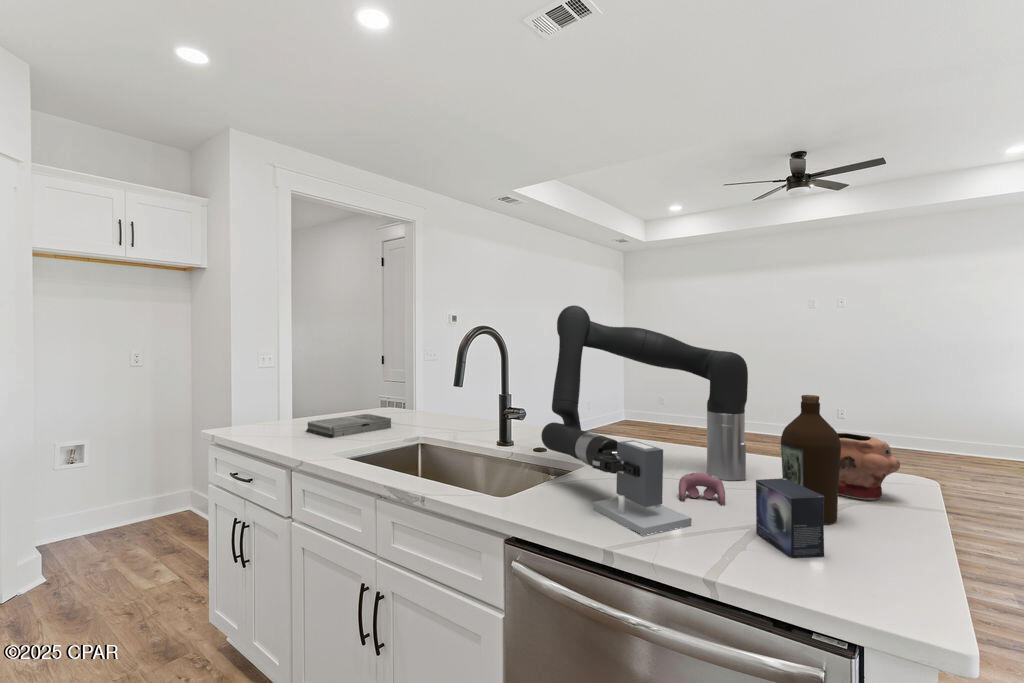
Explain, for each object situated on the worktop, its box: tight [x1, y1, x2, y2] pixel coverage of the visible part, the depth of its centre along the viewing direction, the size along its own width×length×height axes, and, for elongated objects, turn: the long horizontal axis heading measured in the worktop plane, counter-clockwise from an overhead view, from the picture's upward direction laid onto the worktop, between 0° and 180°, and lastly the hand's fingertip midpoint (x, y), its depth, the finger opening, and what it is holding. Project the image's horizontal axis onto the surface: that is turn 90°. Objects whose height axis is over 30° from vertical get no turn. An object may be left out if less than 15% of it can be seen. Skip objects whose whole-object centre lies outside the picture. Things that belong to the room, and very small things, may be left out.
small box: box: [755, 477, 825, 559], centre depth 87 cm, size 11×6×10 cm, turn 5°
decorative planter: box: [837, 432, 901, 501], centre depth 116 cm, size 20×12×14 cm, turn 48°
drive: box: [616, 440, 664, 507], centre depth 100 cm, size 9×4×11 cm, turn 25°
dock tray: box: [593, 494, 692, 536], centre depth 100 cm, size 16×12×5 cm
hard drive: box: [306, 413, 392, 439], centre depth 195 cm, size 18×27×4 cm
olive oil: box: [780, 394, 841, 525], centre depth 101 cm, size 11×11×25 cm
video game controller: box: [678, 472, 726, 505], centre depth 111 cm, size 10×5×7 cm, turn 72°
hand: (648, 470), depth 98 cm, fingers closed on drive, 4 cm apart
